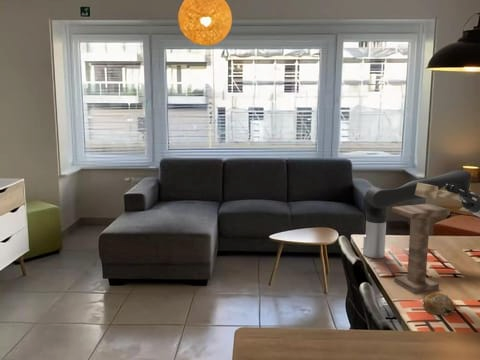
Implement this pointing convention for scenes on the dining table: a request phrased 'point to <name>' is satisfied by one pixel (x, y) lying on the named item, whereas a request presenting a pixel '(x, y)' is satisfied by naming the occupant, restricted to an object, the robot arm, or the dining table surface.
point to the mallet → (433, 192)
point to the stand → (418, 245)
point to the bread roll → (438, 304)
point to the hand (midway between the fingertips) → (448, 186)
